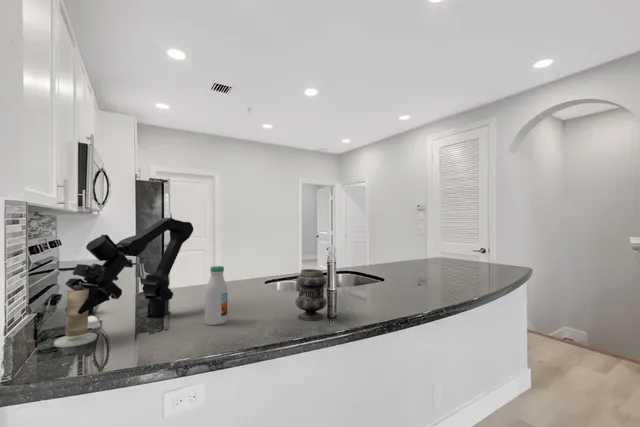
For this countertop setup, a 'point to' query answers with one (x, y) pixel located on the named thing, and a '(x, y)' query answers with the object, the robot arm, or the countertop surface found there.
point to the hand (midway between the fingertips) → (72, 312)
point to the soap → (93, 322)
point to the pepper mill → (76, 311)
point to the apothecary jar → (311, 294)
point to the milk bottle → (216, 297)
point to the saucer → (75, 340)
